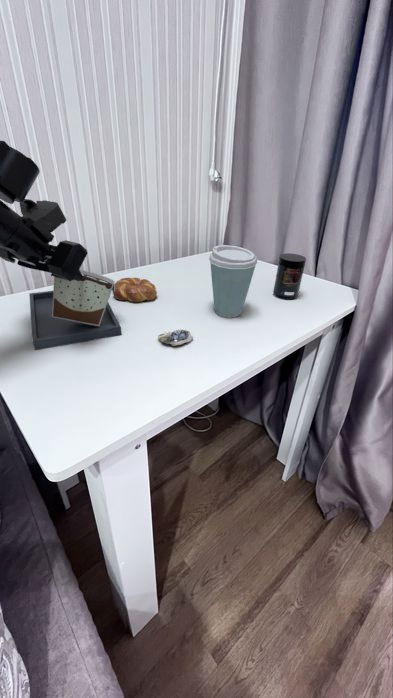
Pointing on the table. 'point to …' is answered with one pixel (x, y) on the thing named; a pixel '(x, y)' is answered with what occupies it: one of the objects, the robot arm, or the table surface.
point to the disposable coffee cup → (231, 278)
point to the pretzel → (134, 290)
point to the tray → (65, 325)
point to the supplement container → (289, 275)
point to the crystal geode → (176, 337)
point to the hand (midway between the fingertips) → (71, 275)
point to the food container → (82, 298)
